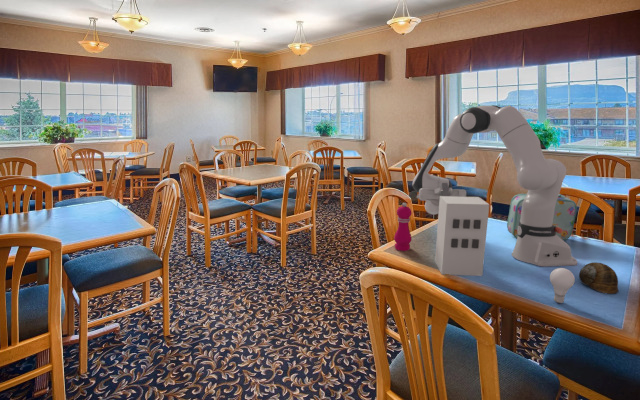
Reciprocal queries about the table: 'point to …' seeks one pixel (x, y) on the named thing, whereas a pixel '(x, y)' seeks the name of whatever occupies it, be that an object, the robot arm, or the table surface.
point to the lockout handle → (445, 189)
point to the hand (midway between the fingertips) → (445, 189)
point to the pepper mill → (403, 229)
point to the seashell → (599, 277)
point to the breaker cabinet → (461, 235)
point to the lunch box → (561, 219)
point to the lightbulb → (561, 283)
